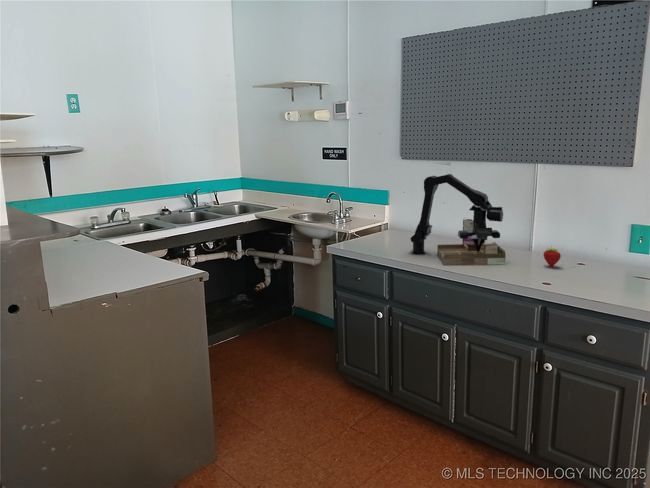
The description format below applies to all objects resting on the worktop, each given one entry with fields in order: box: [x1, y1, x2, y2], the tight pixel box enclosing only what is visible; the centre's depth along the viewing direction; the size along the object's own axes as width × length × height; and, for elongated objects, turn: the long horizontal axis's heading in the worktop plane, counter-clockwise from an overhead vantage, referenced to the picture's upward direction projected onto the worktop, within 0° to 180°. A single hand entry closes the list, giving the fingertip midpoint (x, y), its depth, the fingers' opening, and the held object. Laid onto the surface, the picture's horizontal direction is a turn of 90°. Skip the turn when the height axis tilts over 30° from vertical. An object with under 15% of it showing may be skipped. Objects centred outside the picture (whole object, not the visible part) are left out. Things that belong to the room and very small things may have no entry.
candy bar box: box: [462, 217, 486, 244], centre depth 261 cm, size 11×5×16 cm, turn 68°
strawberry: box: [543, 246, 562, 268], centre depth 226 cm, size 6×8×10 cm
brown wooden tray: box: [437, 241, 507, 266], centre depth 244 cm, size 20×28×6 cm
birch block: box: [483, 242, 499, 254], centre depth 243 cm, size 6×6×4 cm
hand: (477, 251), depth 243 cm, fingers closed
